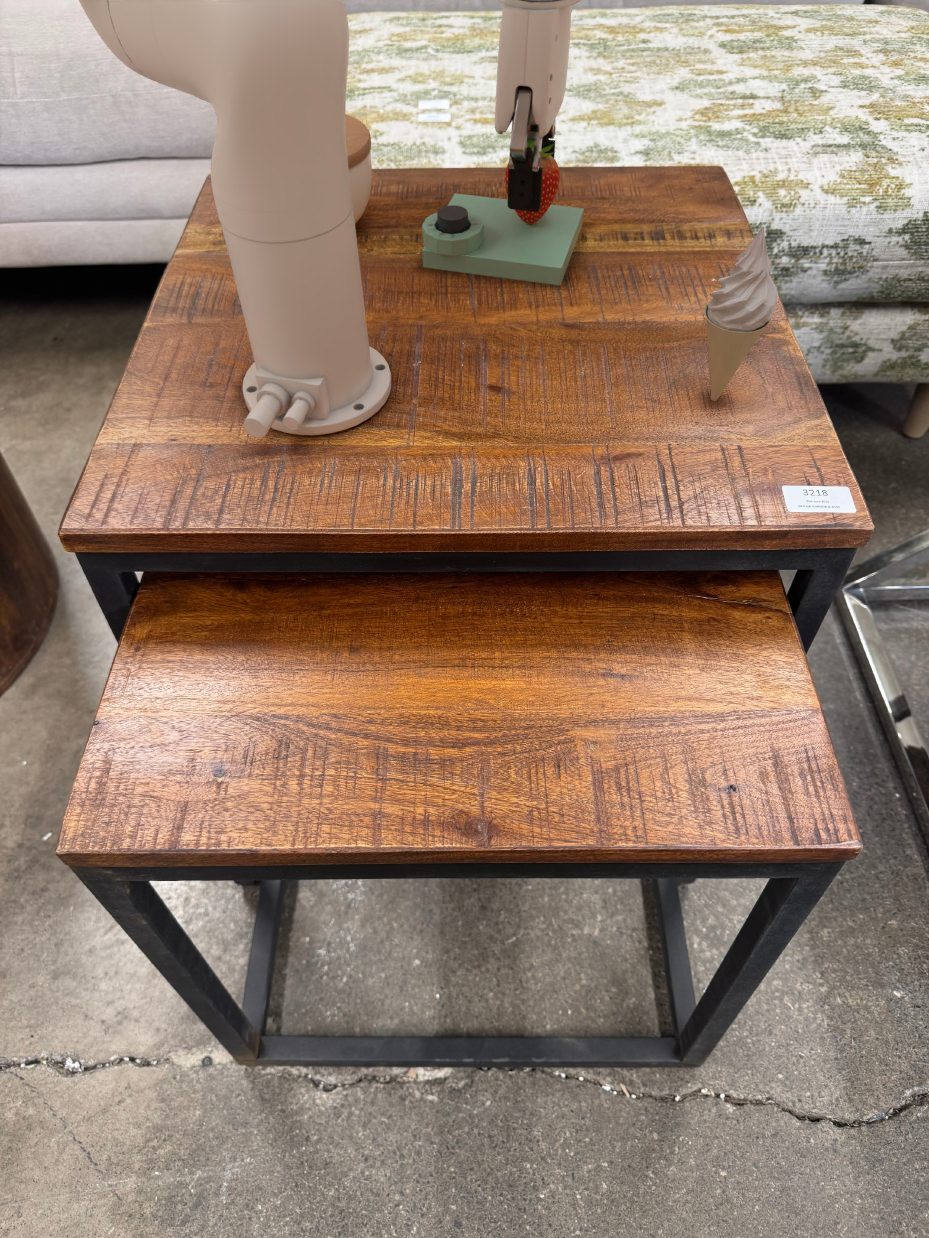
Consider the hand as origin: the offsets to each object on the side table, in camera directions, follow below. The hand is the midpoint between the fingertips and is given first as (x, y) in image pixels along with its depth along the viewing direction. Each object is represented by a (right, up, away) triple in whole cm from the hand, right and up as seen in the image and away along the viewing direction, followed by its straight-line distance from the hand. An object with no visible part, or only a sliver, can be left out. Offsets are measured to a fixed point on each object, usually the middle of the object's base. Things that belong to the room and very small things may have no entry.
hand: (530, 193), depth 84 cm
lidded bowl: (-22, -1, +6) cm, 23 cm away
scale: (-2, -4, +3) cm, 6 cm away
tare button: (-8, -4, -1) cm, 9 cm away
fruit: (0, -2, +2) cm, 3 cm away
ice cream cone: (+15, -24, -13) cm, 31 cm away
